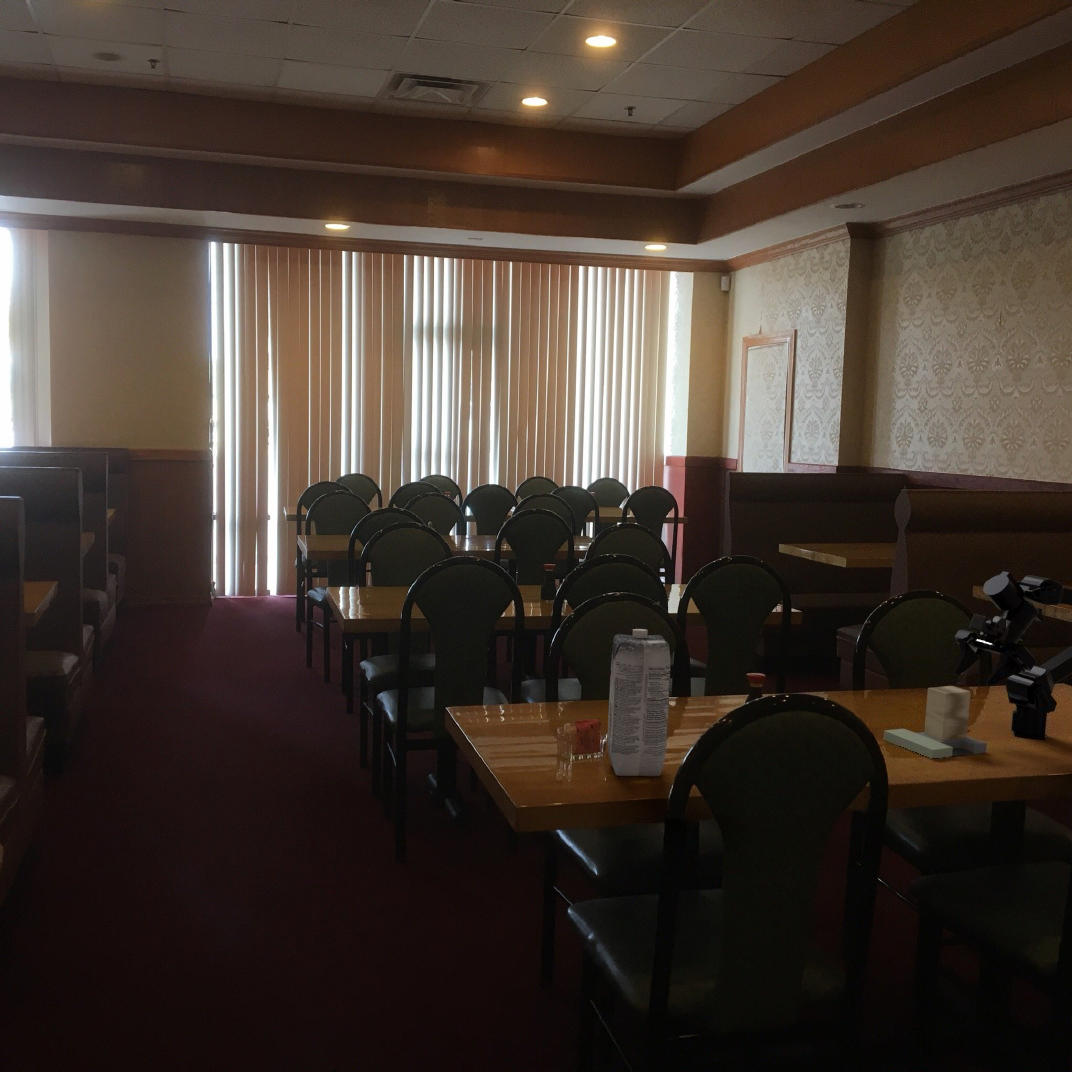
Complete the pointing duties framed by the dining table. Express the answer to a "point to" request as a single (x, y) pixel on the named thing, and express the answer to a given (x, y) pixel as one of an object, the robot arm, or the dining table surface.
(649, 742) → the juice carton
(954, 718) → the maple block
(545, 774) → the dining table surface
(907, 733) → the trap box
